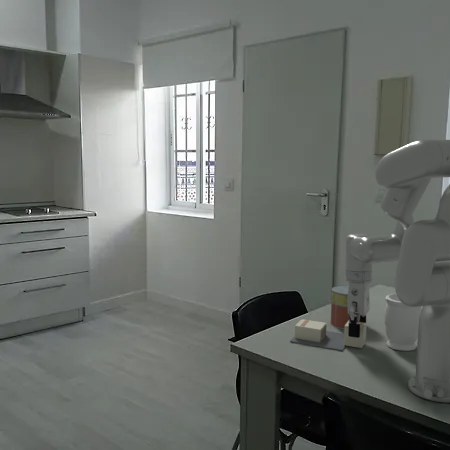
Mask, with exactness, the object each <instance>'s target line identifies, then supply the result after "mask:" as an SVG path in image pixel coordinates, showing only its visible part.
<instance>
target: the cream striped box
mask: <svg viewBox="0 0 450 450" xmlns="http://www.w3.org/2000/svg"><path fill="white" fill-rule="evenodd" d="M326 331H327V322H324V321H323V322H322V321H316V320H309V319H303V318H302V319H300V320H299V321H298V322H297V323H296V324H295V325H294V336H295V338H297V339H303V340H309V341H315V342H322V340H323V339H324V338H325V337H326Z"/></svg>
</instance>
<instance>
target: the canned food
mask: <svg viewBox="0 0 450 450" xmlns="http://www.w3.org/2000/svg"><path fill="white" fill-rule="evenodd" d="M348 286H349V285H337V286H333V287H332V288H330V289H331V302H330V303H331V304H330V323H329V324H330V325H331V326H333V327H334V328H337V329H339V330H340V329H341V330H344V329H345V325H346V323H347V322H348V321H349V317H350V315H349V314H348Z"/></svg>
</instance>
